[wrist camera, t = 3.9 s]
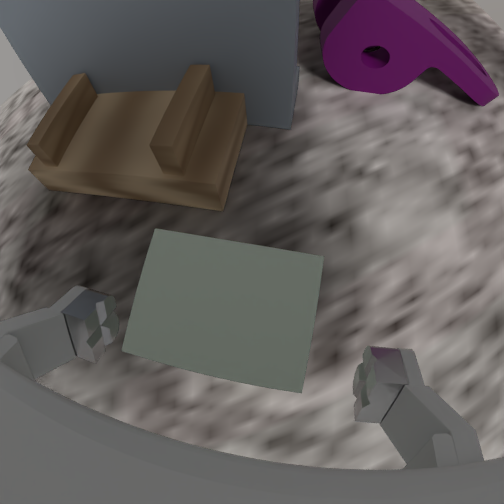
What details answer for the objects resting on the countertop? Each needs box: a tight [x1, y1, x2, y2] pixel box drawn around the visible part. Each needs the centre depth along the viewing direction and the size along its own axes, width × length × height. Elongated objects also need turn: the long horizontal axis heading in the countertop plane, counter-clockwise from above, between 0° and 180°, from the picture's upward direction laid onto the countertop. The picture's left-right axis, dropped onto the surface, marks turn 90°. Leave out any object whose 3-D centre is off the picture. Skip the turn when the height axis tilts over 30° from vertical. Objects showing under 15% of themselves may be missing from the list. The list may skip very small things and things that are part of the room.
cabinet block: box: [122, 228, 324, 393], centre depth 11 cm, size 4×3×10 cm
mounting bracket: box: [313, 0, 499, 106], centre depth 22 cm, size 10×8×18 cm
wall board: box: [0, 0, 300, 129], centre depth 14 cm, size 20×5×18 cm, turn 79°
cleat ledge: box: [27, 65, 247, 211], centre depth 18 cm, size 14×7×6 cm, turn 79°
